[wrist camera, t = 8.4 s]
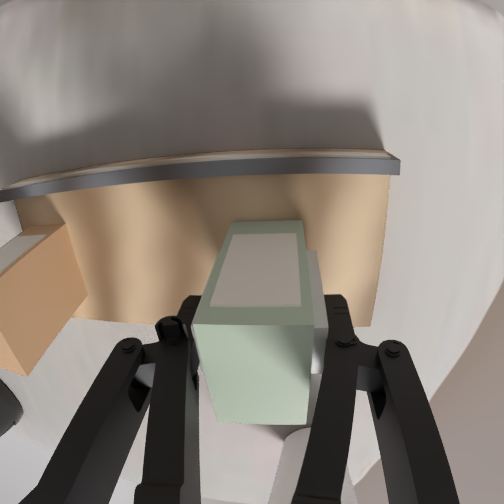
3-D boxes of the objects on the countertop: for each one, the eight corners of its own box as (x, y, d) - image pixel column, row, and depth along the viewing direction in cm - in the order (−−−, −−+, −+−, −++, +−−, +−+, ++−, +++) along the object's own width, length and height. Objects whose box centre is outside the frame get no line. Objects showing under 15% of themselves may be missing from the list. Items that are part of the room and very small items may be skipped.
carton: (240, 307, 21) (217, 422, 13) (231, 220, 19) (192, 321, 11) (301, 306, 21) (306, 424, 13) (302, 218, 18) (314, 322, 10)
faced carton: (52, 292, 23) (-9, 364, 15) (29, 225, 21) (-50, 288, 13) (88, 294, 23) (27, 376, 15) (65, 222, 20) (-19, 292, 12)
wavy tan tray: (61, 307, 26) (45, 326, 23) (19, 179, 20) (-4, 190, 18) (367, 315, 23) (374, 341, 20) (385, 148, 17) (400, 158, 15)
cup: (287, 408, 29) (283, 511, 19) (373, 422, 29) (385, 513, 20) (255, 449, 33) (246, 530, 24) (329, 460, 34) (331, 536, 24)
